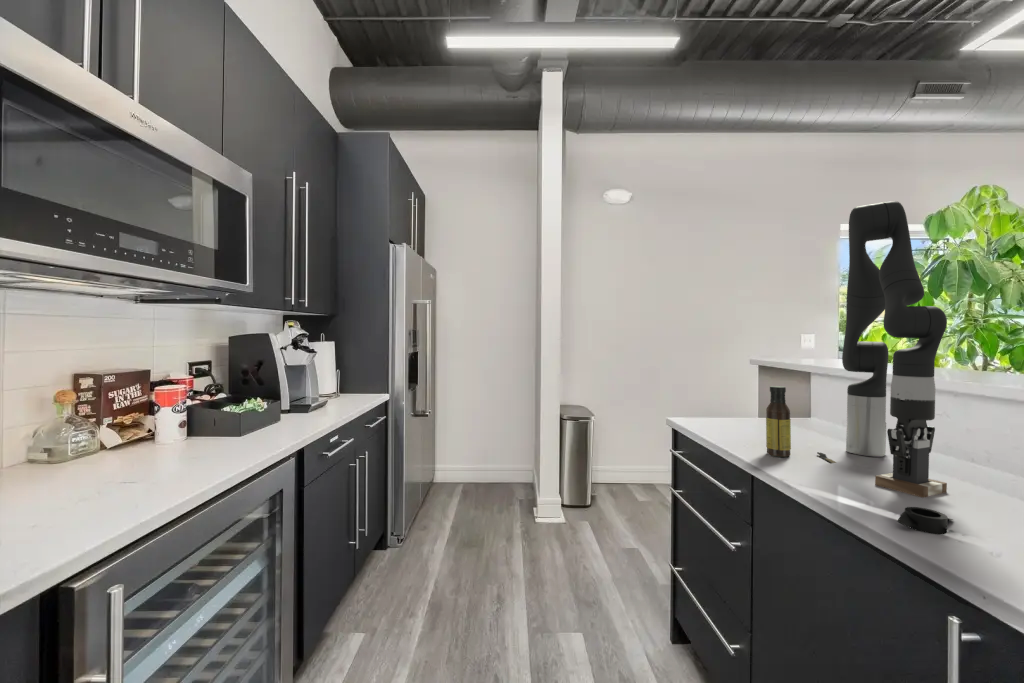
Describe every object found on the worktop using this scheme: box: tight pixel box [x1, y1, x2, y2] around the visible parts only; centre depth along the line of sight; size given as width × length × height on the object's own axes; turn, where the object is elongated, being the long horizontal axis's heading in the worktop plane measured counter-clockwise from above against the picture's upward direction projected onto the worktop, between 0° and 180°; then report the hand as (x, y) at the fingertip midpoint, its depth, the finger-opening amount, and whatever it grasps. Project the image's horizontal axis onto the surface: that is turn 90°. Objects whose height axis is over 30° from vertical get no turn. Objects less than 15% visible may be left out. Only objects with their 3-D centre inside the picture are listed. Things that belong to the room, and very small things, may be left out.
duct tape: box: [896, 506, 954, 535], centre depth 85 cm, size 8×10×3 cm
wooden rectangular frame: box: [874, 472, 948, 498], centre depth 104 cm, size 9×9×3 cm
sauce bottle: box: [765, 385, 792, 458], centre depth 136 cm, size 6×6×20 cm
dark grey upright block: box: [892, 439, 930, 484], centre depth 104 cm, size 5×5×11 cm
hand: (910, 473), depth 104 cm, fingers closed on dark grey upright block, 4 cm apart
